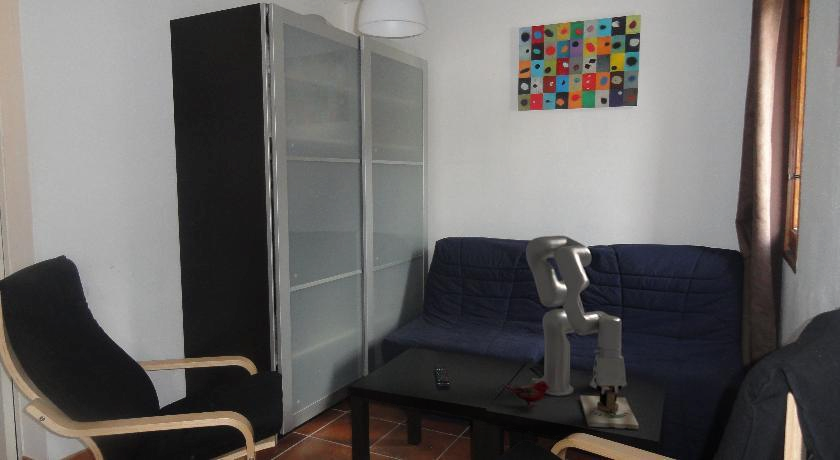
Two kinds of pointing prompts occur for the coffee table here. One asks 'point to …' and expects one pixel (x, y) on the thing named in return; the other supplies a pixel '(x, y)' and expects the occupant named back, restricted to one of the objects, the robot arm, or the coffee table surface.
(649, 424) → the coffee table surface
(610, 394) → the knob
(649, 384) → the coffee table surface
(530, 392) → the decorative bird figurine
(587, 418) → the dial board
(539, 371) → the phone
